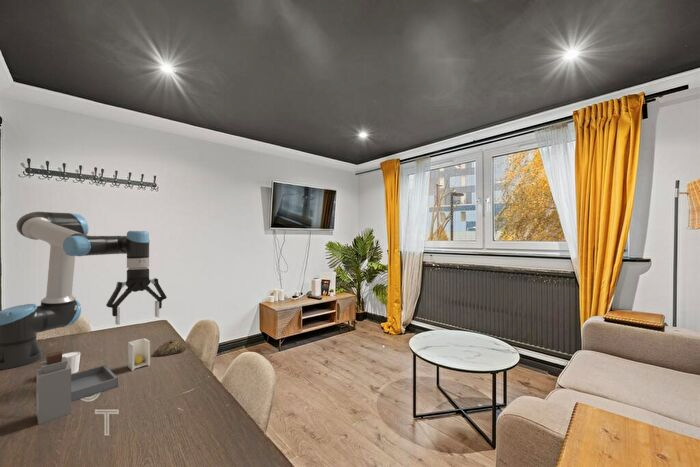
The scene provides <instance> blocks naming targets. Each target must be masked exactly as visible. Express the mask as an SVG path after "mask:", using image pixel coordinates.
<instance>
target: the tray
mask: <svg viewBox="0 0 700 467" xmlns="http://www.w3.org/2000/svg"><path fill="white" fill-rule="evenodd" d="M118 387H119V378H118V376H117V375H116V374H115V373H114V372H113V371H112V370H111V369H110V368H109V367H108V366H107V365H106V364H104V365H99V366H95V367H92V368H88V369H84V370H81V371H78V372H76V373H73V374H71V403H72V402H74V401H77V400H81V399H83V398H87V397H90V396H93V395H96V394H100V393H102V392H105V391H108V390H112V389H114V388H115V389H116V388H118Z"/></svg>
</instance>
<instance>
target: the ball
mask: <svg viewBox="0 0 700 467" xmlns="http://www.w3.org/2000/svg"><path fill="white" fill-rule="evenodd" d="M142 361H143V357H142V356H140V355H139V356H136V357H135V358H134V363H135V364H139V363H141V362H142Z"/></svg>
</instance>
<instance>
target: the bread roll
mask: <svg viewBox="0 0 700 467" xmlns="http://www.w3.org/2000/svg"><path fill="white" fill-rule="evenodd" d="M185 350H186V345H185V344H184V342H183V341H181V340H178V339H170V340H169V341H165V342H164V343H162V344H161V345H160V346H159V347H157V349H156V350H155V351H154V353H153V355H154V356H155V357H162V356H164V355H165V356H171V354H172V355H177V354H181V353H183V352H184V351H185ZM176 353H177V354H176ZM165 356H164V357H165Z"/></svg>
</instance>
